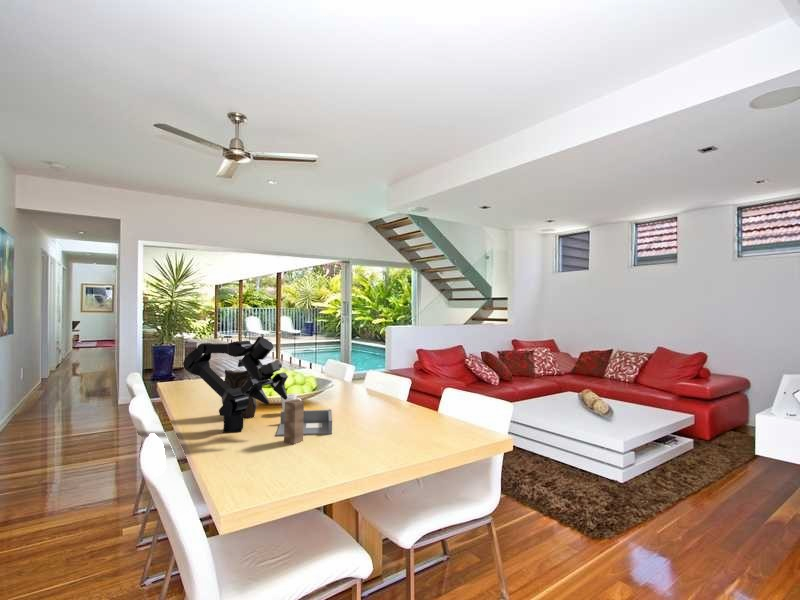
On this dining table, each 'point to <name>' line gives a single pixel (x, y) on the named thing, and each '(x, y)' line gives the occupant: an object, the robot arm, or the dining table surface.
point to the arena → (312, 422)
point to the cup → (288, 399)
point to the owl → (237, 381)
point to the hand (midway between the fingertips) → (277, 401)
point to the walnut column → (293, 421)
